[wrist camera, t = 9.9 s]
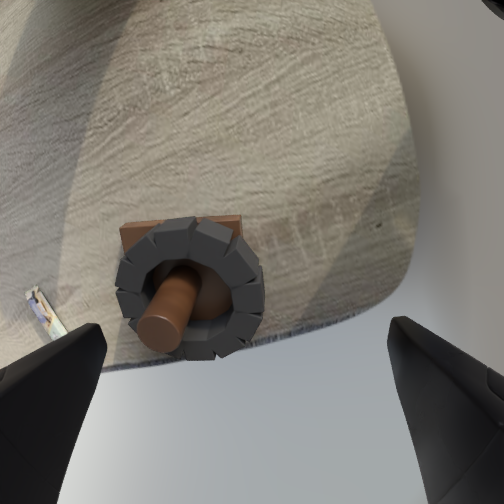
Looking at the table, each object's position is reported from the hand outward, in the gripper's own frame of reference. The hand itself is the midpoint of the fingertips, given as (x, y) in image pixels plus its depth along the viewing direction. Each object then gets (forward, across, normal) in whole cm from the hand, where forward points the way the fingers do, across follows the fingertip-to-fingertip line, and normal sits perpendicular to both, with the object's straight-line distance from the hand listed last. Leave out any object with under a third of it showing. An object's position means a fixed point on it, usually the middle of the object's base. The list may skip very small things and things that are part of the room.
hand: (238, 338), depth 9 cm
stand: (+12, +5, +4) cm, 14 cm away
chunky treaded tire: (+11, +4, +4) cm, 12 cm away
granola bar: (+12, +19, +8) cm, 24 cm away
